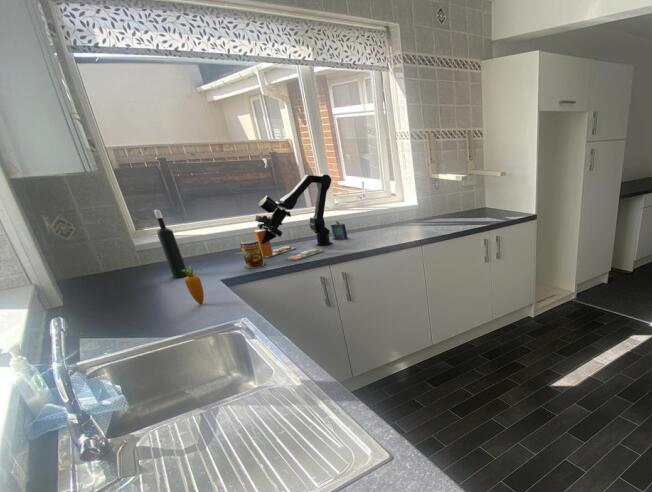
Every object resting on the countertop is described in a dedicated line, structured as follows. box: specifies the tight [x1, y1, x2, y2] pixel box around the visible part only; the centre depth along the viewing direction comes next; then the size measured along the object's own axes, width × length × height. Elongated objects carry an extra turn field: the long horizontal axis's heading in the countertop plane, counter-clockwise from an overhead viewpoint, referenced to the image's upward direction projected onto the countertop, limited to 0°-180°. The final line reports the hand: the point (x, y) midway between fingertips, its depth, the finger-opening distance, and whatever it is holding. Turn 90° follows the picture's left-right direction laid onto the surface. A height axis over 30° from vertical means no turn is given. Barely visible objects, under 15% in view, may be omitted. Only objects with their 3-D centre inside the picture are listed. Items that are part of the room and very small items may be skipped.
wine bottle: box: [153, 209, 188, 279], centre depth 190 cm, size 6×6×30 cm
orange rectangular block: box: [253, 229, 273, 256], centre depth 223 cm, size 5×4×13 cm
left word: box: [262, 245, 297, 258], centre depth 232 cm, size 19×7×2 cm, turn 158°
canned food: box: [239, 239, 265, 269], centre depth 207 cm, size 8×8×12 cm
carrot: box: [182, 265, 205, 306], centre depth 158 cm, size 5×5×15 cm
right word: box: [286, 248, 324, 261], centre depth 225 cm, size 19×7×2 cm, turn 158°
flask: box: [329, 220, 348, 240], centre depth 257 cm, size 9×3×11 cm, turn 84°
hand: (260, 242), depth 222 cm, fingers closed on orange rectangular block, 4 cm apart
